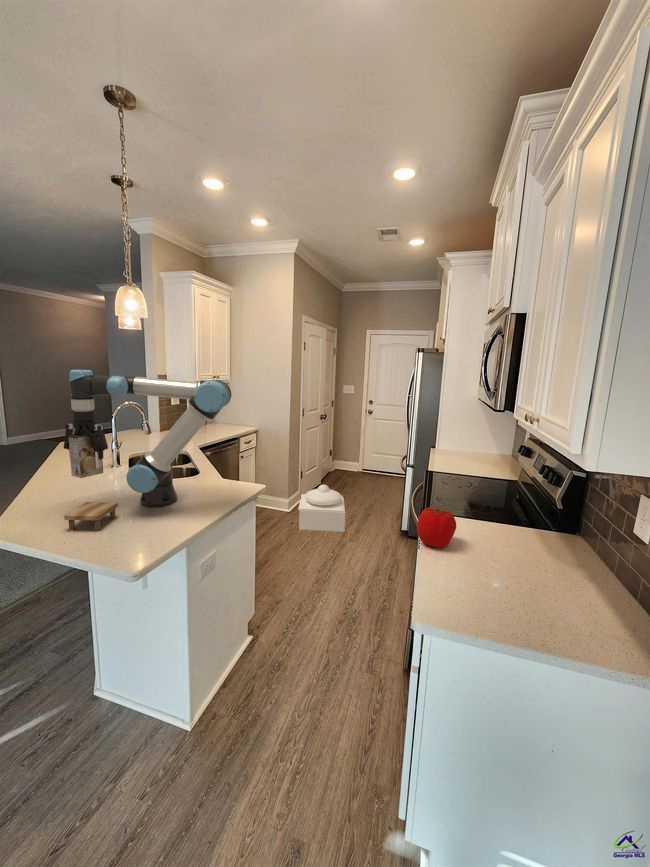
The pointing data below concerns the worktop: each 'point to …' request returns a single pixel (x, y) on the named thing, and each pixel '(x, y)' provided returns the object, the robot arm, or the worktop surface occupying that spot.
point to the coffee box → (83, 456)
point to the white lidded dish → (322, 510)
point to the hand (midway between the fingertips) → (87, 466)
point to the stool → (91, 513)
